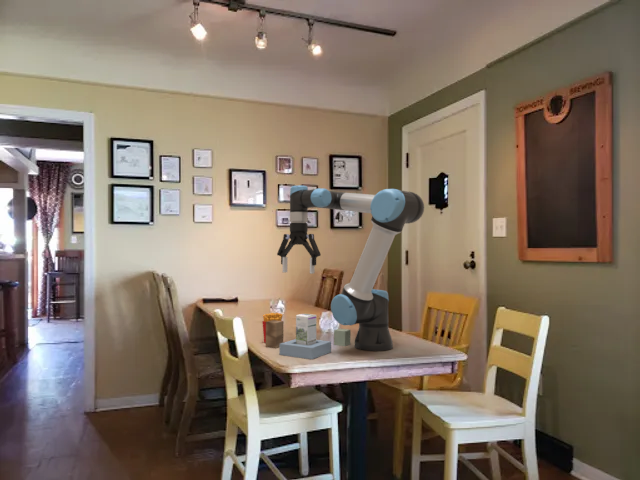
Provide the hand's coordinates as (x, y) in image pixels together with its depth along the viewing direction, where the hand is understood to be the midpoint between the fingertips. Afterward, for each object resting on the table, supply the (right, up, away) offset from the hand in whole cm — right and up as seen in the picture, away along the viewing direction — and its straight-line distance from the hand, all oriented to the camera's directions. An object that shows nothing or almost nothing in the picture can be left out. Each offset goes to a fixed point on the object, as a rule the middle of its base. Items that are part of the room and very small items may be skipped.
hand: (298, 273), depth 203 cm
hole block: (+4, -28, -23) cm, 37 cm away
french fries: (-11, -29, -2) cm, 31 cm away
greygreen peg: (+18, -29, -6) cm, 35 cm away
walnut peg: (-9, -29, -12) cm, 32 cm away
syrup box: (+4, -29, -24) cm, 37 cm away
